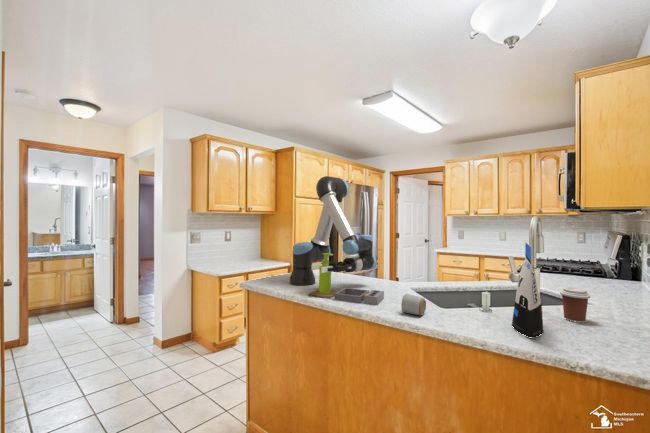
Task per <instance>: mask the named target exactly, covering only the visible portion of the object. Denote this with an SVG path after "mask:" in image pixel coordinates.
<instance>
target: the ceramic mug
mask: <svg viewBox="0 0 650 433" xmlns="http://www.w3.org/2000/svg"><path fill="white" fill-rule="evenodd" d="M400 307H401V311H402V312H403V313H404V314H405V313H406V314H411V315H414V316H423V315H424V314H425V313H426V309H427V301H426V299H425V298H423V297H422V296H418V295H413V294H410V293H404V295H403V296H402V299H401V306H400Z"/></svg>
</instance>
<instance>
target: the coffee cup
mask: <svg viewBox="0 0 650 433" xmlns="http://www.w3.org/2000/svg"><path fill="white" fill-rule="evenodd" d="M559 294H560V295H561V296H562V309H563V319H564V318H566V319H568V320H571V321H576V322H575V323H577V322H585V321H586V322H587V320H586V319H587V310H588V303H589V302H588V301H589V299H590V298H591V295H590V294H589V293H588V290H587V289H584V288H579V287H573V286H565V287H563V289H562V290H560V291H559ZM568 320H567V321H568ZM571 321H570V322H571ZM586 322H585V323H586Z"/></svg>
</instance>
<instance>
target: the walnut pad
mask: <svg viewBox="0 0 650 433" xmlns="http://www.w3.org/2000/svg"><path fill="white" fill-rule="evenodd" d="M338 291H339V290H333V289H331V292H330V294H320V293H319V288H317V289H315V290H313V291H311V292H309V293H307V296H308V297H314V298H320V299H321V298H322V299H329V300H331V299H332V298H335V293H336V292H338Z"/></svg>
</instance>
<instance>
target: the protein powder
mask: <svg viewBox="0 0 650 433" xmlns="http://www.w3.org/2000/svg"><path fill="white" fill-rule="evenodd" d="M524 247H525V249H524V253H525V256H524V257H525V258H524V261H523V263H522V266H521V269H520V272H519V275H518V279H517V280H518V281H517V285H516V286H517V287H516V293H515V294H516V295H515V299H514V307H513V312H512V313H513V314H512V320H511V327H512V326H513V327H514V328H513V327H512V328H513V330H515V329H516V330H517V331H518V332H520V333H521V334H520V333H519V334H520V335H522V334H524V335H526V336H528V337H535V338H537V337H536V336H539V335H540V334H542V333H543V334H544V322H543V321H544V319H543V307H542V306H543V303H542V300H541V299H542V298H541V296H540V293H539V289H538V284H537V276H536V274H535V271H534V269H533V266H532V247H531V246H530V244H528V243H527V242H526V241H525V246H524ZM516 330H515V331H516ZM517 331H516V332H517ZM518 332H517V333H518ZM543 334H542V335H543ZM524 335H523V336H524ZM526 336H525V337H526ZM540 336H541V335H540ZM540 336H539V337H540ZM528 337H527V338H528Z"/></svg>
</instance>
